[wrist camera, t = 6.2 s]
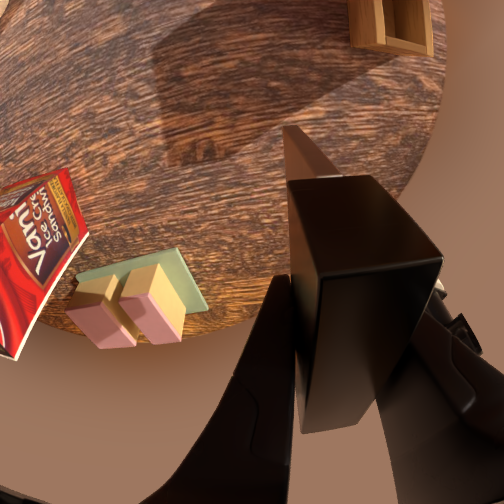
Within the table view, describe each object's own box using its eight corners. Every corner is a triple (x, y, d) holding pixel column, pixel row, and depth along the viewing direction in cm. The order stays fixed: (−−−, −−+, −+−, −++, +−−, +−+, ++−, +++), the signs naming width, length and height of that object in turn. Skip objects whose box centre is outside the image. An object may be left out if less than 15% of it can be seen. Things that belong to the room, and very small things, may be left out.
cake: (144, 315, 27) (135, 346, 24) (109, 320, 27) (99, 349, 24) (114, 273, 23) (99, 305, 20) (79, 282, 24) (64, 311, 21)
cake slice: (186, 308, 26) (181, 341, 23) (160, 313, 27) (152, 345, 23) (159, 262, 23) (147, 296, 20) (130, 269, 23) (117, 302, 20)
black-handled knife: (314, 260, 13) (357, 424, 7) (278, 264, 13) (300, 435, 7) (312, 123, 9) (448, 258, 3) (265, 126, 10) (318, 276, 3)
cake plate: (208, 306, 27) (208, 310, 26) (114, 321, 28) (113, 325, 28) (177, 246, 22) (175, 250, 22) (76, 273, 24) (74, 276, 24)
